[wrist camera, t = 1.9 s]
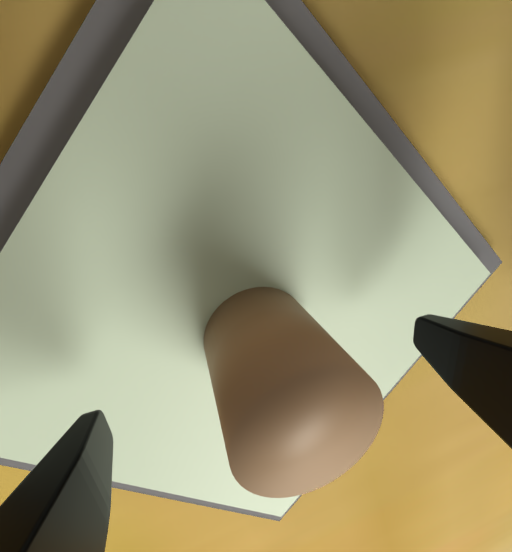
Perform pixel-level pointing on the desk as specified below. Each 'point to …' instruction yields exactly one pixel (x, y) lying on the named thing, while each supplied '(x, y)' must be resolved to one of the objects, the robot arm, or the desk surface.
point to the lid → (220, 268)
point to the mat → (94, 71)
